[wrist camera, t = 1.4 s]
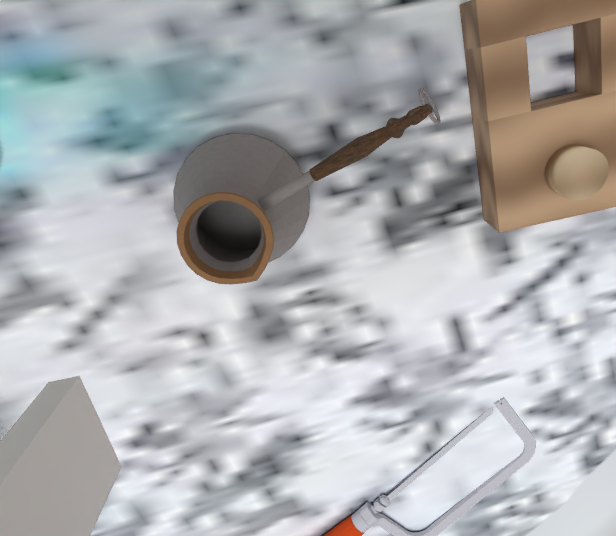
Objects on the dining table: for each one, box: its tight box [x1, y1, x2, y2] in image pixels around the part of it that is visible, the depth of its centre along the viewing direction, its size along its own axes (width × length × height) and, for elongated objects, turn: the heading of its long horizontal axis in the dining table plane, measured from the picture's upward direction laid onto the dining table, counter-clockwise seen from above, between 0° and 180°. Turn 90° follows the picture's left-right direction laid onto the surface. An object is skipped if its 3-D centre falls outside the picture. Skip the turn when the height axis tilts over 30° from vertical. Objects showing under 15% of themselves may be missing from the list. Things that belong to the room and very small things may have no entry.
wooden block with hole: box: [460, 0, 616, 233], centre depth 40 cm, size 18×12×6 cm, turn 13°
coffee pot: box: [174, 88, 440, 284], centre depth 37 cm, size 21×12×15 cm, turn 124°
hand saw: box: [324, 397, 536, 536], centre depth 58 cm, size 33×3×10 cm
